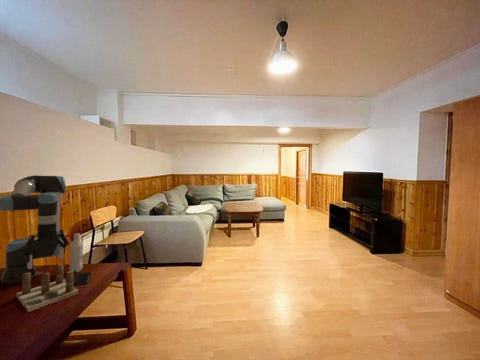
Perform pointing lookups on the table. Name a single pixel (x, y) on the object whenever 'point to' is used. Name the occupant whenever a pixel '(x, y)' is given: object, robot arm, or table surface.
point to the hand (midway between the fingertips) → (46, 263)
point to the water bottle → (76, 253)
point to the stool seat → (64, 288)
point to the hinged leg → (47, 286)
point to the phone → (82, 278)
